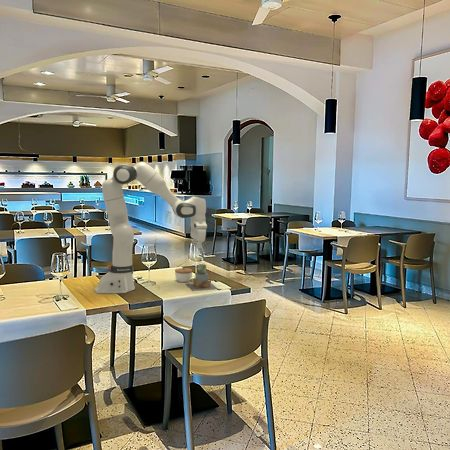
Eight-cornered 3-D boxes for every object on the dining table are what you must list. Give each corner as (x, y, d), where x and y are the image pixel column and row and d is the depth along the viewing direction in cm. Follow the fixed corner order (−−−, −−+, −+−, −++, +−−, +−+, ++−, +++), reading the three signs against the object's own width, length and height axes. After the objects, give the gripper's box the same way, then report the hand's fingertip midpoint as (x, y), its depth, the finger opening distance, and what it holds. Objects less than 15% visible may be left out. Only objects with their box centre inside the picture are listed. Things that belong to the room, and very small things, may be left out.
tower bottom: (196, 288, 251) (197, 282, 251) (193, 285, 259) (193, 278, 258) (210, 287, 254) (210, 281, 253) (206, 284, 261) (206, 278, 261)
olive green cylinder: (198, 274, 252) (199, 266, 251) (196, 272, 257) (196, 264, 256) (207, 274, 254) (207, 265, 253) (204, 272, 258) (204, 264, 258)
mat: (192, 292, 246) (192, 291, 246) (185, 285, 261) (185, 284, 261) (218, 290, 251) (218, 289, 251) (210, 283, 266) (210, 282, 266)
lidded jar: (193, 280, 274) (193, 265, 273) (190, 284, 263) (190, 269, 262) (176, 279, 275) (177, 265, 274) (173, 283, 264) (173, 268, 263)
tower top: (198, 281, 252) (198, 274, 251) (195, 279, 257) (195, 272, 257) (208, 280, 254) (208, 274, 253) (205, 278, 259) (205, 271, 259)
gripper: (188, 221, 262) (187, 244, 264) (197, 225, 243) (196, 250, 245) (198, 221, 264) (197, 244, 266) (208, 225, 245) (207, 249, 247)
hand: (197, 247), depth 255 cm, fingers open, 8 cm apart
